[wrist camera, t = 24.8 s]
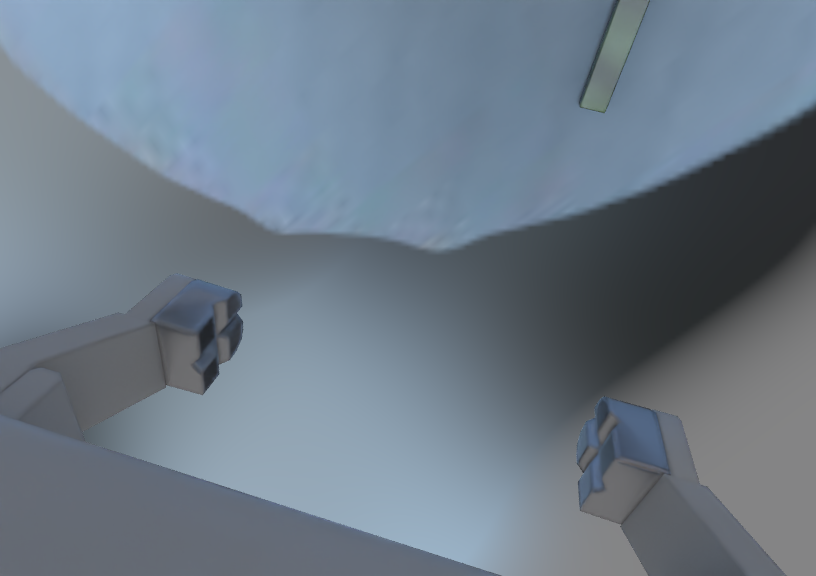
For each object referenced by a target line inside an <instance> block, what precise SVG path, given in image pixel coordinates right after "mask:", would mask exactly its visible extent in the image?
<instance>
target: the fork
mask: <svg viewBox="0 0 816 576" xmlns="http://www.w3.org/2000/svg"><path fill="white" fill-rule="evenodd" d="M649 2H650V0H617V1H616V4H615V6H614V9H613V12H612V14H611V17H610V20H609V23H608V25H607V28H606V31H605V34H604V36H603V39H602V42H601V44H600V47H599V50H598V53H597V55H596V58H595V61H594V64H593V66H592V69H591V72H590V74H589V77H588V80H587V83H586V85H585V88H584V91H583V94H582V96H581V99H580V102H579V105H580V107H581V108H586V109H590V110H594V111H598V112H602V113H605V111H606V109H607V106H608V104H609V101H610V99H611V96H612V94H613V91H614V89H615V87H616V84H617V82H618V79H619V77H620V74H621V72H622V69H623V67H624V64H625V62H626V59H627V57H628V54H629V52H630V49H631V47H632V44H633V42H634V39H635V37H636V34H637V32H638V29H639V27H640V24H641V22H642V19H643V17H644V14H645V12H646V9H647V7H648V4H649Z"/></svg>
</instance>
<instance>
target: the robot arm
mask: <svg viewBox="0 0 816 576" xmlns="http://www.w3.org/2000/svg"><path fill="white" fill-rule="evenodd" d="M241 307H242V298H241V294H240V293H238V292H237V291H234V290H231V289H227V288H224V287H221V286H218V285H215V284H212V283H208V282H205V281H202V280H199V279H194V278H191V277H188V276H184V275H181V274H178V273H176V274H173V275H170V276H169V277H168V278H166V279H165V280H164V281H163V282H162V283H161V284H160V285H158V286H157V287H156V288H155V289H154V290H152V291H151V292H150V293H149V294H148V295H147V296H146V297H144V298H143V299H142V300H141V301H140V302H139V303H138V304H137V305H135V306H134V307H133V308H132V309H131V310H130V311H128V312H127V313H126V314H122V313H115V314H112V315H109V316H106V317H102V318H99V319H95V320H92V321H89V322H86V323H82V324H79V325H76V326H72V327H69V328H66V329H62V330H59V331H56V332H52V333H49V334H46V335H42V336H39V337H36V338H32V339H29V340H26V341H23V342H20V343H16V344H12V345H9V346H6V347H3V348H0V576H500V575H498V574H494V573H491V572H488V571H485V570H482V569H479V568H476V567H472V566H469V565H466V564H463V563H460V562H457V561H454V560H451V559H448V558H445V557H441V556H438V555H435V554H432V553H429V552H426V551H423V550H420V549H416V548H413V547H410V546H407V545H404V544H401V543H398V542H395V541H392V540H388V539H385V538H382V537H379V536H376V535H373V534H370V533H367V532H363V531H361V530H357V529H354V528H351V527H348V526H345V525H342V524H339V523H336V522H332V521H330V520H326V519H323V518H320V517H317V516H314V515H311V514H308V513H305V512H301V511H298V510H295V509H292V508H289V507H286V506H283V505H280V504H277V503H274V502H271V501H268V500H265V499H261V498H258V497H255V496H252V495H249V494H245V493H242V492H240V491H237V490H233V489H230V488H227V487H224V486H221V485H218V484H215V483H212V482H209V481H205V480H202V479H199V478H196V477H193V476H190V475H187V474H183V473H181V472H178V471H175V470H171V469H168V468H165V467H162V466H159V465H156V464H153V463H150V462H147V461H144V460H140V459H137V458H134V457H131V456H128V455H125V454H122V453H119V452H116V451H112V450H109V449H106V448H103V447H100V446H97V445H94V444H91V443H87V442H85V439H84V436H83V433H82V432H83V431H85V430H87V429H89V428H90V427H92V426H94V425H96V424H98V423H100V422H102V421H103V420H105V419H107V418H109V417H111V416H113V415H115V414H117V413H119V412H120V411H122V410H124V409H126V408H128V407H130V406H132V405H134V404H135V403H137V402H139V401H141V400H143V399H145V398H147V397H149V396H150V395H152V394H154V393H156V392H158V391H160V390H162V389H164V388H166V385H168V386H172V387H175V388H179V389H182V390H186V391H190V392H193V393H197V394H201V395H203V394H204V393H205V391H206V390H207V389H208V388H209V387H210V385H211V384H212V383H213V381H214V380H215V379H216V377H217V376H218V375H219V364H222V363H224V362H226V361H229V360H230V359H231V358H232V356H233V355H234V354H235V352H236V351H237V348H238V346H239V344H240V341H241V339H242V333H243V321H242V319H241V318H240V317H239V315H238V314H237V312H238V311H239V310H240V308H241ZM577 465H578V466H579V467H580V469H581V470H582V472H583V473H584V474H583V475H582V477H581V478H580V480H579V481H578V489H579V505H580V511H582V512H585V513H588V514H591V515H594V516H597V517H600V518H603V519H606V520H609V521H612V522H615V523H618V524H621V526H620V527H621V528H622V530H623V532H624V534H625V535H626V537H627V539H628V541H629V543H630V544H631V546H632V548H633V550H634V551H635V553H636V555H637V557H638V558H639V560H640V562H641V564H642V565H643V567H644V569H645V570H646V572H647V574H648V576H786V575H785V573H784V572H783V571H782V570H781V569H780V568H779V567H778V566H777V564H776V563H775V562H774V561H773V560H772V559H771V558H770V557H769V555H768V554H767V553H766V552H765V551H764V550H763V549H762V548H761V547H760V545H759V544H758V543H757V542H756V541H755V540H754V539H753V537H752V536H751V535H750V534H749V533H748V532H747V531H746V530H745V529H744V527H743V526H742V525H741V524H740V523H739V522H738V520H737V519H736V518H735V517H734V516H733V515H732V514H731V513H730V512H729V510H728V509H727V508H726V507H725V506H724V505H723V504H722V502H721V501H720V500H719V499H718V498H717V497H716V496H715V495H714V494H713V492H712V491H711V490H710V489H709V488H708V487H707V486H703V485H700V483H699V479H698V476H697V472H696V469H695V466H694V462H693V459H692V455H691V452H690V449H689V445H688V442H687V438H686V435H685V432H684V428H683V425H682V421H681V420H680V419H679V418H678V416H675V415H671V414H668V413H664V412H660V411H656V410H651V409H648V408H644V407H641V406H637V405H634V404H630V403H626V402H623V401H619V400H616V399H612V398H609V397H605V396H604V397H603V398H601V399H600V400H599V402H598V403H597V405H596V406H595V418H593V419H591V420H589V421H586V423H585V425H584V427H583V429H582V431H581V433H580V437H579V440H578V443H577Z"/></svg>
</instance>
